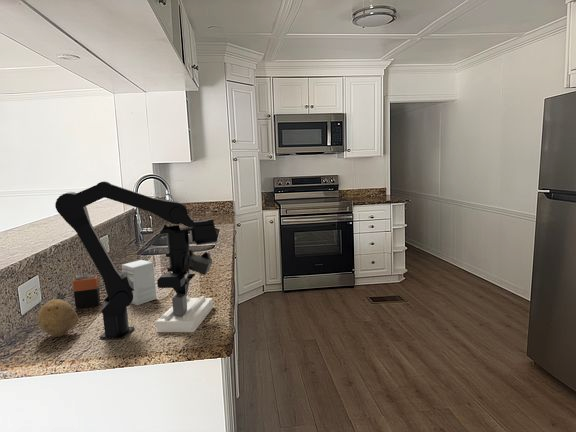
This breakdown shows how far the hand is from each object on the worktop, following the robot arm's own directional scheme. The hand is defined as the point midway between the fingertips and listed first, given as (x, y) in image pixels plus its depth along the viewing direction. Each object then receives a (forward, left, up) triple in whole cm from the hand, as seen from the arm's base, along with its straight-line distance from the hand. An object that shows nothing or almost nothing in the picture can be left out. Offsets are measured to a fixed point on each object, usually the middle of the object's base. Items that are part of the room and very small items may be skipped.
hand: (183, 301), depth 114 cm
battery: (+13, +37, -6) cm, 40 cm away
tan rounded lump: (-10, +31, -6) cm, 33 cm away
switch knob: (-3, 0, -2) cm, 4 cm away
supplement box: (+17, +21, -6) cm, 28 cm away
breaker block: (+1, 0, -6) cm, 6 cm away
